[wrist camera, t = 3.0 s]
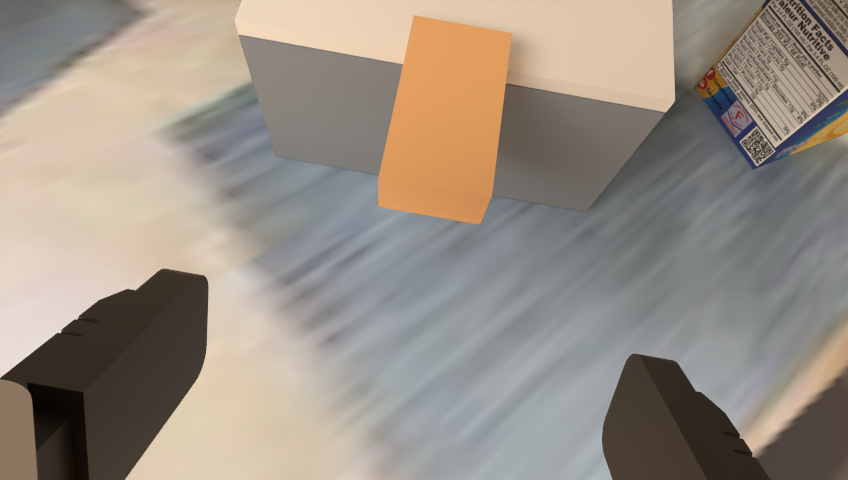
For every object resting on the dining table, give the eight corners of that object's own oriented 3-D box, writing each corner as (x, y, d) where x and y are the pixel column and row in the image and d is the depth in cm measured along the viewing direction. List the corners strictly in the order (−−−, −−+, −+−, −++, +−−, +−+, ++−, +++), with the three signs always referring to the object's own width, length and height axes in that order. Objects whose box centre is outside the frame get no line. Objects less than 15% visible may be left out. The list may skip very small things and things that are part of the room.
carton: (275, 156, 34) (238, 35, 24) (334, -34, 40) (322, -186, 31) (586, 212, 34) (665, 113, 25) (595, 14, 40) (660, -122, 31)
